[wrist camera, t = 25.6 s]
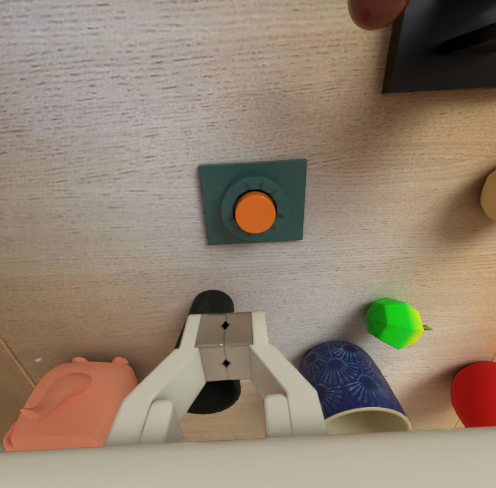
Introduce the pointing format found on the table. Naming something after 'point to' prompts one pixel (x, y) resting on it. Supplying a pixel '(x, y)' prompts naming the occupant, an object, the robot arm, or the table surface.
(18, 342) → the table surface
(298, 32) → the table surface
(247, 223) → the button
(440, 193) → the table surface
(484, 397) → the tomato
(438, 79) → the bracket
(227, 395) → the cup
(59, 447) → the teapot
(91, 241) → the table surface
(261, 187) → the button box
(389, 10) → the lever
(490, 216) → the onion
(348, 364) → the planter
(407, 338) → the apple
